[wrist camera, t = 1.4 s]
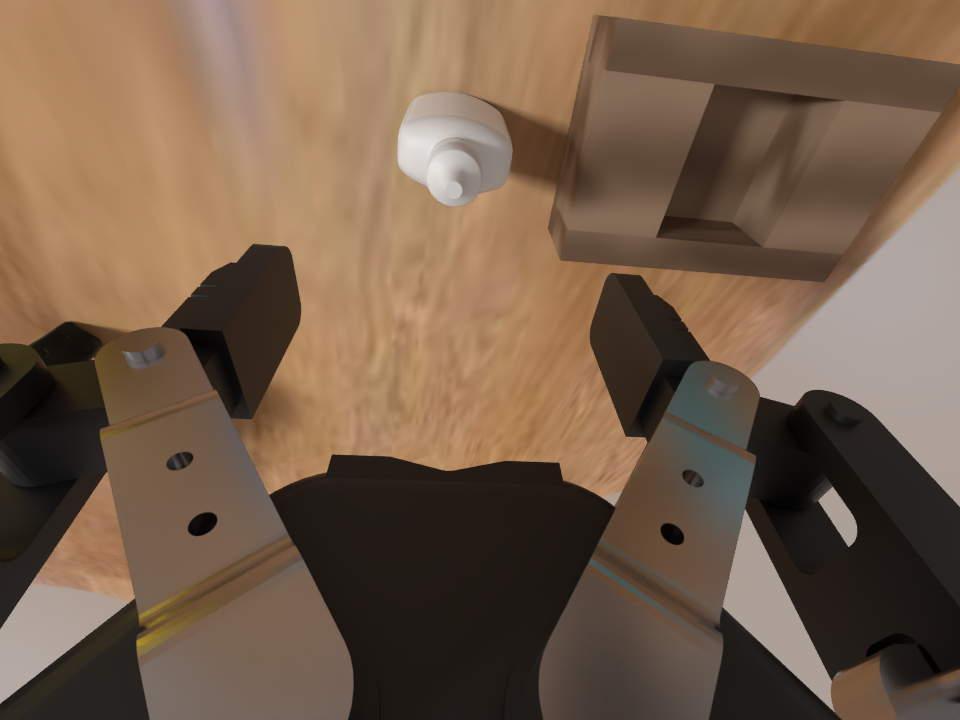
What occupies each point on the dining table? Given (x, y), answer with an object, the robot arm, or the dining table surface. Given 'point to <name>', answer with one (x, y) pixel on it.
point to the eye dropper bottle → (454, 146)
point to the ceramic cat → (66, 345)
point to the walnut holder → (734, 148)
